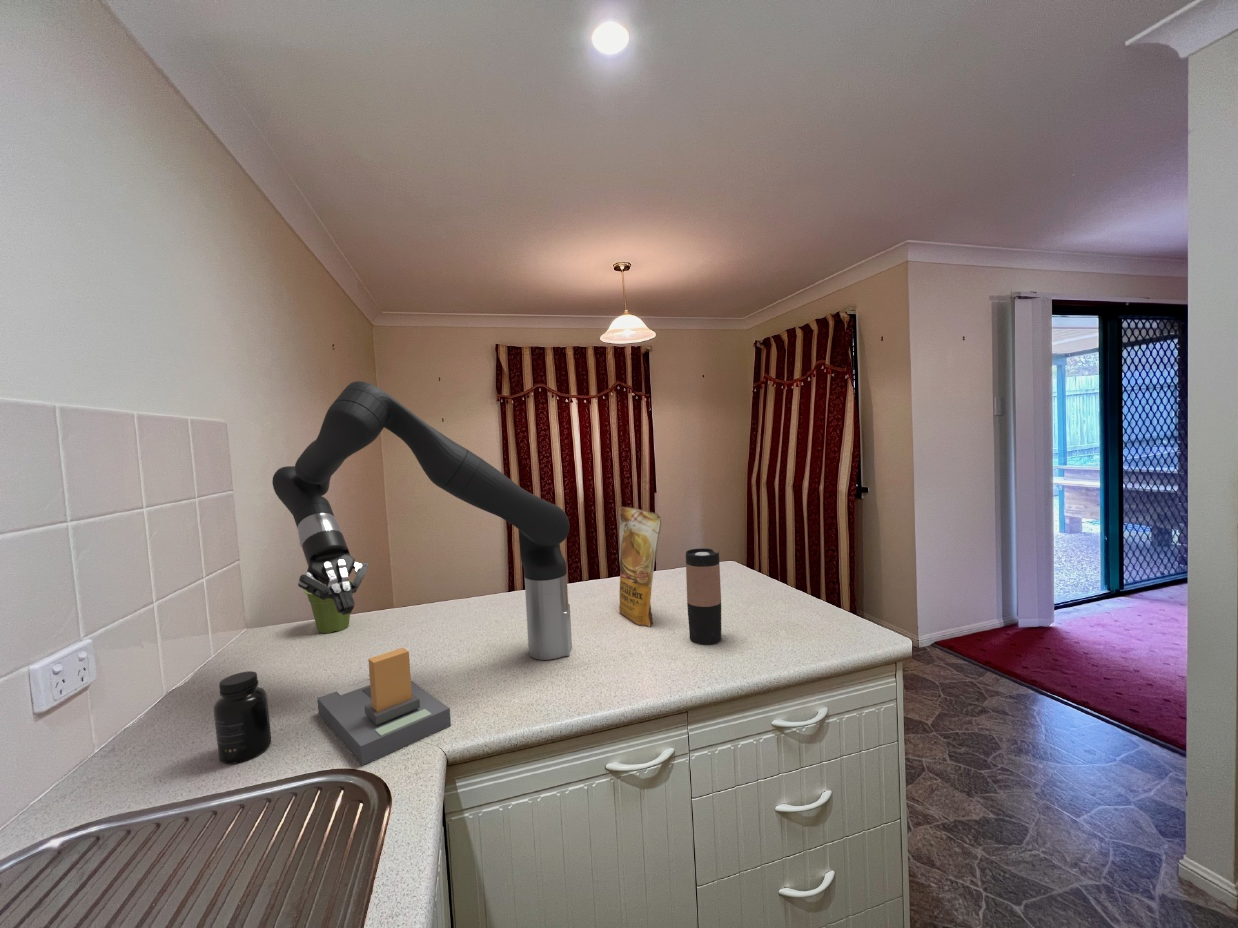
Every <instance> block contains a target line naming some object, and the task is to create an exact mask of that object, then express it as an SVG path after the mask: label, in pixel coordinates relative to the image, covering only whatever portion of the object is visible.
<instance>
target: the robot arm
mask: <svg viewBox="0 0 1238 928" xmlns="http://www.w3.org/2000/svg"><path fill="white" fill-rule="evenodd" d="M384 428H385V429H387V430H388V431H390V432H391V433H392V434H394V435H395V436H397V437H398V438H399V439H401V441H402V442H403V443H405V444H406V445H407V447H408V448H409V449H410V451H411V452H412V453H413V456H415V459H416V461H417V462H418V463H419V465H420V467H421V469H422V471H424V473H425V475H426V476H427V477H428V479H429V480H430V482H432V483H433V484H434V485H435V486H437V487H438V488H440V489H441V490H444V491H445V492H446V493H448V494H450V495H452V496H453V497H454V498H457V499H459V500H461V501H462V502H465V503H467V504H468V505H471V506H473V507H475V508H478V509H480V510H482V511H485V512H487V513H490V514H492V515H494V516H497V517H499V518H501V519H502V520H504V521H506V522H508V524H510V525H512V526H513V527H515V528H516V529H517V530H518V544H519V552H520V554H519V555H520V561H521V564H522V568H523V574H524V575H523V576H524V586H525V587H524V590H525V591H524V592H525V609H526V610H525V613H526V629H527V646H528V648H527V649H528V655H529V657H531V658H532V659H535V660H540V661H544V660H546V661H548V660H549V661H550V660H555V659H559V658H563V657H569V656H570V653H571V650H572V646H573V642H572V641H573V639H572V636H573V635H572V621H571V604H569V595H568V594H569V592H568V590H569V589H568V571H567V561H566V560H565V558H564V556H563V553H562V551H561V546H560V545H561V543H563V542H564V541H565V540H566V539H567V537H568V536H569V533H570V527H571V525H570V520H569V518H568V515H567V514H566V512H565V511H564V510H563V509H562V508H561V507H559V506H558V505H556V504H554V503H551V502H549V501H547V500H545V499H543V498H541V497H539V496H537V495H535V494H533V493H531V492H529V491H527V490H525V489H524V488H522V487H521V486H520V485H518V484H517V483H515V481H513V480H512V479H510V478H509V477H508V476H507V475H505V474H504V473H503V472H501V471H500V470H498V469H497V468H495V466H493V465H491V464H490V463H488V461H486V460H484V459H483V458H482V457H480V456H478V455H477V454H476V453H474V452H472V451H470V450H469V449H467V448H465V447H464V446H462V445H461V444H459V443H457V442H455V441H454V440H452V439H451V438H450V437H448V436H446V435H444V434H443V433H442V432H441V431H439V430H438V429H437V428H434V427H433V426H431V425H429V424H428V423H426V421H424V420H422V419H421V418H420V417H419V416H418V415H416V414H415V413H414V412H413V411H412V410H410V409H408V408H407V407H406V406H404V405H403V404H402V403H401V402H399V401H398V400H397V399H396V398H394V397H393V396H391V395H390V394H389V393H388V392H386V391H385V390H383V389H381V388H380V387H378V386H376V385H374V384H372V383H369V382H365V381H359V380H357V381H352V382H350V383H349V384H347V386H346V387H345V388H344V389H343V390H342V392H341V393H340V394H339V395H338V397H337V398H336V399H335V400H334V401H333V402H332V404H330V406H329V407H328V409H327V411H326V413H325V415H324V418H323V421H322V423H321V426H320V430H319V433H318V435H317V438H316V439H315V440H313V441H312V442H311V443H310V444H308V445H307V447H306V448H305V449H304V450H303V452H302V453H301V454H300V455H299V457H297V459H296V461H295V464H294V466H293V465H292V466H291V465H290V466H289V465H288V466H283V467H280V468H278V469H277V470H276V471H275V472H274V474H273V477H272V487H273V490H274V493H275V495H276V496H277V498H278V499H279V501H281V503H282V504H283V505H284V506H285V507H286V508H287V510H288V511H289V512H290V514H291V515H292V516H293V519H294V523H295V526H296V528H297V529H296V530H297V532H298V533H297V534H298V539H299V544H300V547H301V548H302V552H303V555H304V558H305V561H306V564H307V566H308V567H307V571H306V573H305V574H301V575H300V576H299V578H298V584H297V586H298V587H299V588H301V589H303V590H304V591H305V590H306V591H308V592H310V593H312V594H313V595H315V596H317V597H319V598H321V599H323V600H325V599H327V598H331V599H333V600H334V603H335V606H336V609H337V611H338V612H339V613H342V615H345V614H349V613H350V614H352V611H353V610H354V607H355V600H354V598H353V597H354V596H353V595H352V594H351V593H353V594H355V593H357V591H358V589H359V587H360V586H361V583H362V581H363V579H364V577H365V576H366V574H367V572H368V568H369V563H368V562H363V563H359V562H357V561H356V559H355V558H354V557H353V556H352V555H351V553H350V550H349V548H348V545H347V542H346V540H345V537H344V534H343V531H342V529H341V527H340V524H339V522H338V521H337V519H336V517H335V514H334V512H333V509H332V507H331V504H330V502H329V500H328V499H327V498H326V497H325V496H324V495H326V493H328V491H329V489H330V482H331V479H332V476H333V475H334V474H335V473H336V472H337V471H338V470H339V469H340V467H341V466H342V465H343V464H344V461H345V460H346V459H347V458H349V457H351V456H352V455H353V454H355V453H357V452H359V451H361V450H363V449H364V448H366V447H368V445H370V444H372V443H373V442H374V441H375V440H376V439H377V438H378V437H379V435H380V434H381V432H382V431H383V430H384ZM353 569H354V574H355V575H356V576H355V577H354V579H353V580H352V581H353V583H352V584H349V581H350V580H349V579H350V575H351V573H352V571H353ZM321 583H322V584H321ZM323 584H325V585H323Z"/></svg>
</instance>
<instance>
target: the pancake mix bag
mask: <svg viewBox="0 0 1238 928" xmlns="http://www.w3.org/2000/svg"><path fill="white" fill-rule="evenodd" d="M618 518H619V525H618V526H619V541H618V542H619V553H618V554H619V569H620V570H619V571H620V572H619V574H620V575H619V595H618V596H619V606H618V609H619V613H620V614H621V615H622V616H624V618H626V619H628V620H629V621H630V622H632V623H634V624H635V625H636V626H638V627H652V625H653V624H654V622H653V614H652V606H651V604H652V603H651V599H652V597H651V596H652V586H653V579H654V573H655V571H654V570H655V562H656V559H657V550H658V543H659V537H660V534H661V529H662V518H661V516H660V515H659V514H658V513H656V512H652V511H647V510H643V509H640V508H639V509H638V508H636V507H635V508H634V507H630V506H628V507H627V506H621V507H619V508H618Z"/></svg>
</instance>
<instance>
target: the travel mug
mask: <svg viewBox="0 0 1238 928" xmlns="http://www.w3.org/2000/svg"><path fill="white" fill-rule="evenodd" d="M720 566H721V565H720V551H717V552H716V551H714V549H712V548H706V547H705V548H692V549H687V551H686V552H685V573H686V574H685V575H686V576H685V577H686V602H687V603H686V605H687V606H686V607H687V617H688V618H687V619H688V634H689V639H690V641H691V642H692V643H694V644H697V645H703V646H707V645H708V646H710V645H715V644H718V643H720V642H721V641H722V592H721V591H722V590H721V589H722V588H721V586H722V585H721V569H720Z"/></svg>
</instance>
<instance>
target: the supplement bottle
mask: <svg viewBox="0 0 1238 928" xmlns="http://www.w3.org/2000/svg"><path fill="white" fill-rule="evenodd" d="M218 687H219V696H220V698H218V700H217V701H216V702H215V703H214V705H213V718H214V726H215V735H216V745H217V752H218V753H217V754H218V759H219V760H220V762H221V763H224V764H230V765H231V764H238V763H242V762H245V761H249V760H252V759H254V758H255V757H257V756H260V755H261V754H262V753H264V752H265V751H266V750H267V749H268V748H269V747H270V745H271V743H272V732H271V720H270V711H269V703H268V694H267V691H266V689H264V688H263V687H260V686H259V680H258V673H257V672H256V671H252V670H251V671H250V670H249V671H242V672H238V673H235V674H232V675H229V676H226V677H224V678H223V679H221V681H220V682H219V684H218Z"/></svg>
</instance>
